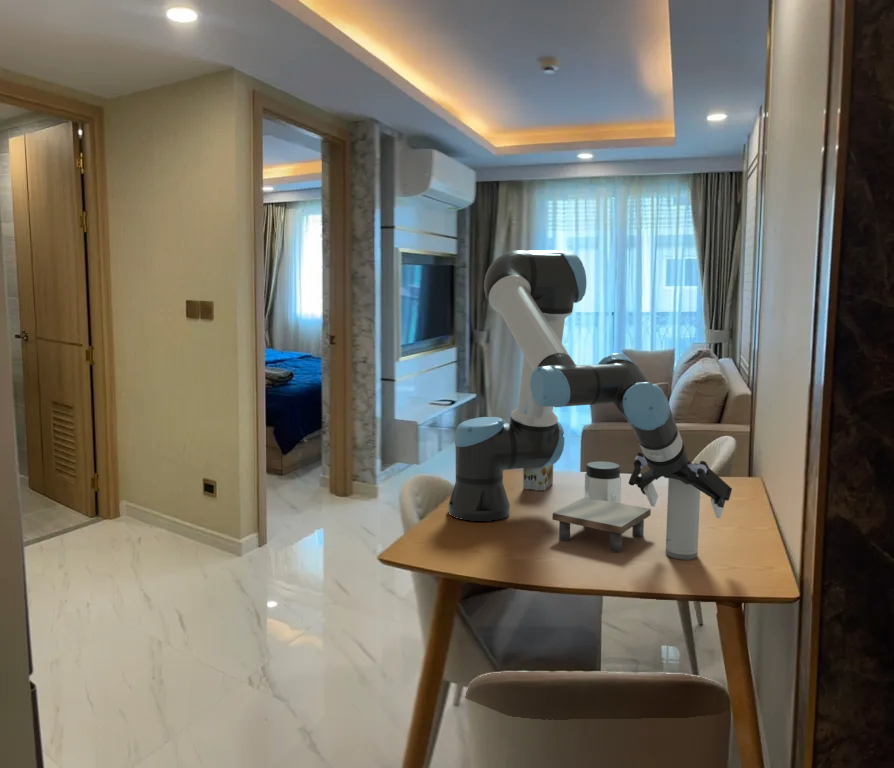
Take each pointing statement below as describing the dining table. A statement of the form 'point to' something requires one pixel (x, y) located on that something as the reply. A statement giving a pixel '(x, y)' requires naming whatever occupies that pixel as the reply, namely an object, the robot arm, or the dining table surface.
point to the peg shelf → (602, 519)
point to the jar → (603, 481)
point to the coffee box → (537, 477)
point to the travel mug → (682, 520)
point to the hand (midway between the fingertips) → (686, 506)
